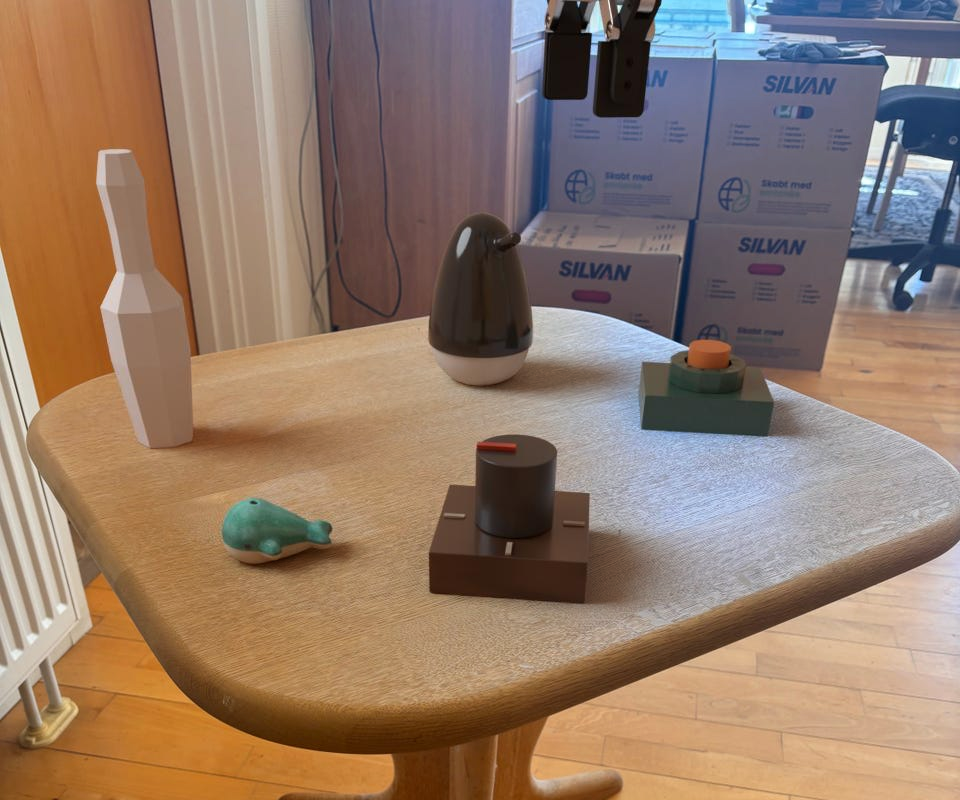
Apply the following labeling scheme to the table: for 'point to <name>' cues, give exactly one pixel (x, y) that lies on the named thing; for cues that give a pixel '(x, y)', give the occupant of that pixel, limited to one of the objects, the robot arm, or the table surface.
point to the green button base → (704, 398)
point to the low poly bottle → (143, 313)
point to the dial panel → (511, 553)
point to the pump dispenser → (481, 304)
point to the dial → (515, 485)
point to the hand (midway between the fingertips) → (589, 107)
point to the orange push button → (709, 354)
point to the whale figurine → (270, 532)
